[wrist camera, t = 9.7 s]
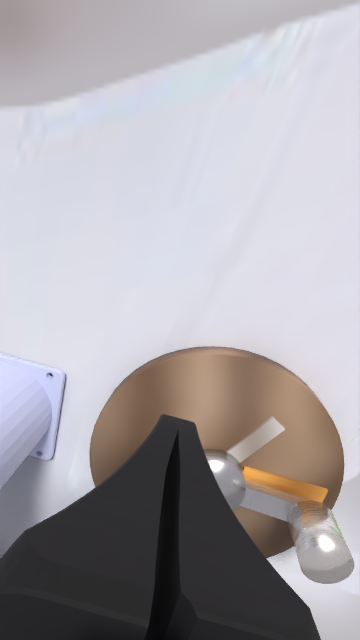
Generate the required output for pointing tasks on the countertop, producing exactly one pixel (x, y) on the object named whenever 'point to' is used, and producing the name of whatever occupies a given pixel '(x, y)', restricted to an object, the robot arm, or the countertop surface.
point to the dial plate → (230, 426)
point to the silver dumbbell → (288, 519)
